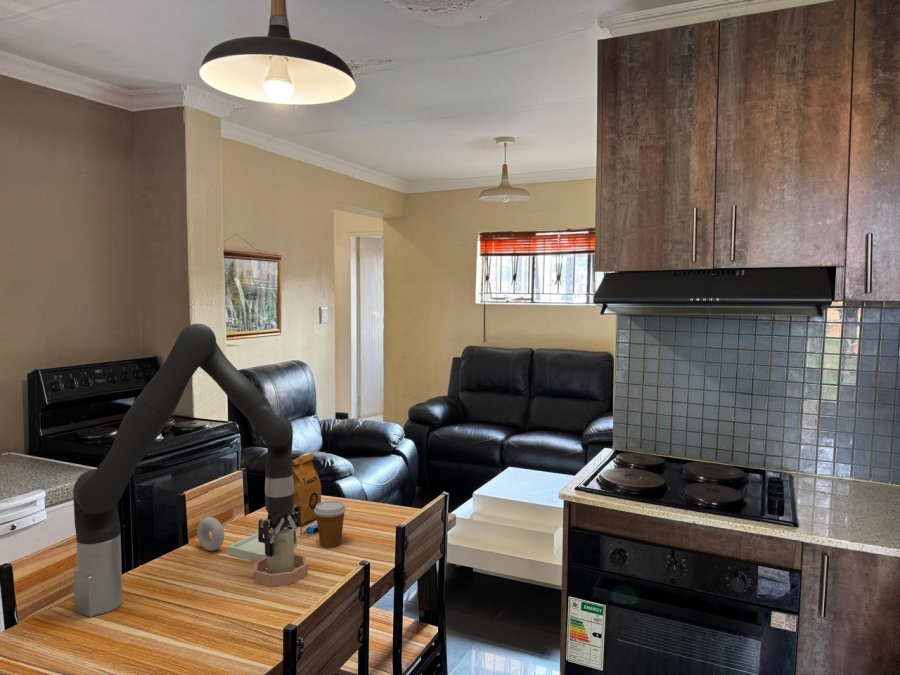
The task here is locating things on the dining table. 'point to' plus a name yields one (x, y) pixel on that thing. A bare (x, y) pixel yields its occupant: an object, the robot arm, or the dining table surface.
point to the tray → (249, 548)
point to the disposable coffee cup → (330, 522)
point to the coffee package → (306, 487)
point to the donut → (204, 534)
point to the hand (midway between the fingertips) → (281, 550)
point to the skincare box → (282, 552)
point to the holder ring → (280, 578)
